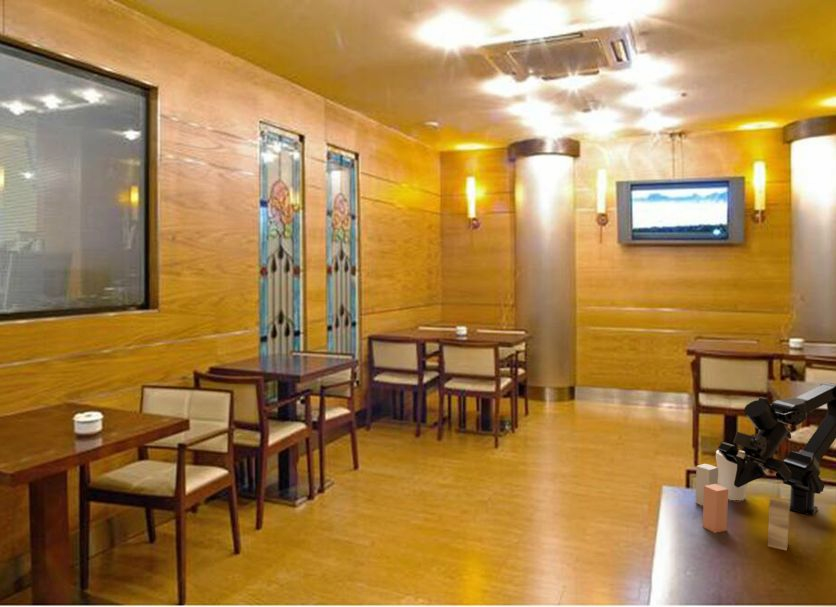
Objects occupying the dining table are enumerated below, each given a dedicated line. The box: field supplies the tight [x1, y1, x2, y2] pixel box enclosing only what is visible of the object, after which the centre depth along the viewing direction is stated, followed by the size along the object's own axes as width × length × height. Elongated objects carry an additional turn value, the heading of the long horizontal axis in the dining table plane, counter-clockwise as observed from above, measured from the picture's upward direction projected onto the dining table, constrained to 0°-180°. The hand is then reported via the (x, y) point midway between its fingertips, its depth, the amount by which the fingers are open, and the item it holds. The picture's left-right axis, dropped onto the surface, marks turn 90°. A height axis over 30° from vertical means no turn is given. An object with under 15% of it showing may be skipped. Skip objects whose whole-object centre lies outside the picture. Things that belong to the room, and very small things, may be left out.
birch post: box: [767, 496, 790, 551], centre depth 153 cm, size 4×4×11 cm
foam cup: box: [715, 449, 748, 501], centre depth 184 cm, size 10×9×13 cm
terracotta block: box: [702, 484, 729, 534], centre depth 163 cm, size 4×4×11 cm
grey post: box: [694, 463, 719, 506], centre depth 179 cm, size 4×4×11 cm
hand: (735, 486), depth 165 cm, fingers closed
